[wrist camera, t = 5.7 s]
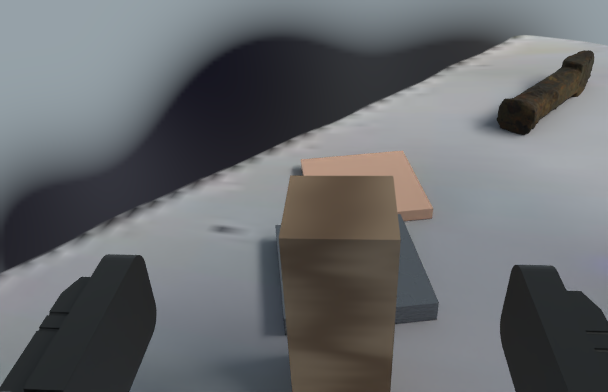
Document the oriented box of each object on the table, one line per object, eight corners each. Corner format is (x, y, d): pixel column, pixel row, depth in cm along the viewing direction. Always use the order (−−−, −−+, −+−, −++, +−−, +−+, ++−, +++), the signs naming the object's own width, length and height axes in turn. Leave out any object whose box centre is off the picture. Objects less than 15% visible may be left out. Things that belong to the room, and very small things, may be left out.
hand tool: (528, 141, 56) (537, 99, 53) (493, 129, 58) (500, 88, 56) (607, 89, 66) (618, 51, 63) (575, 80, 69) (584, 44, 66)
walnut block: (383, 356, 33) (393, 175, 26) (387, 430, 29) (400, 240, 22) (302, 353, 34) (290, 175, 26) (295, 426, 29) (278, 238, 22)
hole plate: (399, 228, 44) (400, 213, 43) (436, 319, 35) (438, 302, 35) (276, 240, 43) (275, 225, 42) (285, 335, 35) (283, 318, 34)
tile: (402, 159, 53) (402, 150, 53) (432, 218, 45) (433, 208, 44) (301, 168, 53) (300, 159, 52) (312, 229, 44) (312, 219, 44)
